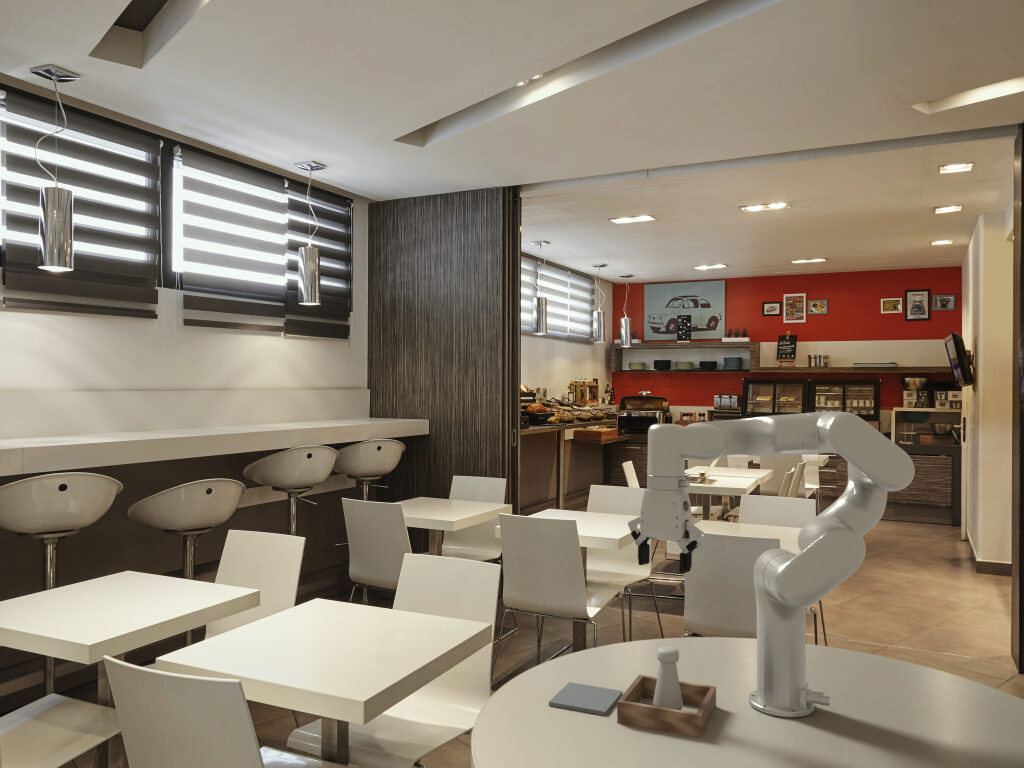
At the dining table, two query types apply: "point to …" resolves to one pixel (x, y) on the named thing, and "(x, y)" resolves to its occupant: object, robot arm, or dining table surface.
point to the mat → (586, 698)
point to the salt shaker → (668, 680)
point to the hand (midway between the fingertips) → (664, 568)
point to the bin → (666, 717)
